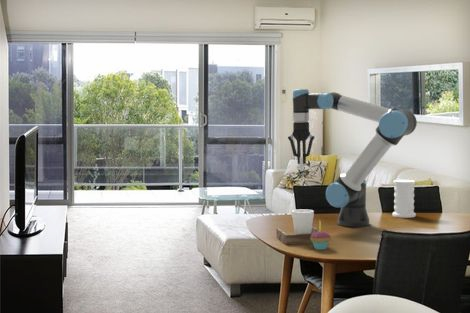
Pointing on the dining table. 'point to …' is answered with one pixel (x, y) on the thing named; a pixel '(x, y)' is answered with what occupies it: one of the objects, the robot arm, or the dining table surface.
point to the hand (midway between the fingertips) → (301, 170)
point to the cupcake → (320, 239)
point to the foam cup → (302, 221)
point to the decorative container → (404, 198)
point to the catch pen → (295, 237)
